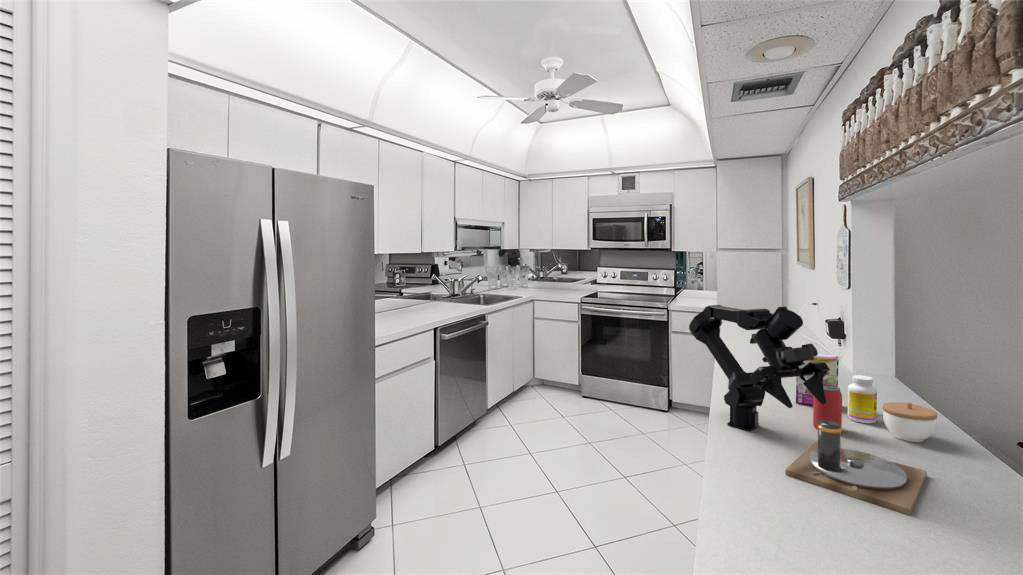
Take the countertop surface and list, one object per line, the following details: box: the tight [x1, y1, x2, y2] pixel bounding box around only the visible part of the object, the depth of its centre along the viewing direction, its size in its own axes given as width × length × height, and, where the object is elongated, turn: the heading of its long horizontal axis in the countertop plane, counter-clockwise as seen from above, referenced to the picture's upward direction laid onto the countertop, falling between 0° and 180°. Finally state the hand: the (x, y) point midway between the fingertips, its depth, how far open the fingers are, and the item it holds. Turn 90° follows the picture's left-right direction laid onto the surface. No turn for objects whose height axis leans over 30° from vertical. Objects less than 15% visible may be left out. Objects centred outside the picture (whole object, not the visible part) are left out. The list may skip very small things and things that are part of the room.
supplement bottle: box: [847, 374, 878, 424], centre depth 126 cm, size 7×7×13 cm
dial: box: [809, 420, 907, 491], centre depth 96 cm, size 17×17×11 cm
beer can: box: [812, 384, 843, 431], centre depth 121 cm, size 7×7×12 cm
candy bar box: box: [795, 353, 840, 406], centre depth 140 cm, size 11×5×16 cm, turn 58°
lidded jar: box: [882, 401, 938, 443], centre depth 114 cm, size 11×11×9 cm
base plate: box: [785, 441, 928, 516], centre depth 96 cm, size 21×21×2 cm
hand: (807, 405), depth 103 cm, fingers open, 9 cm apart
